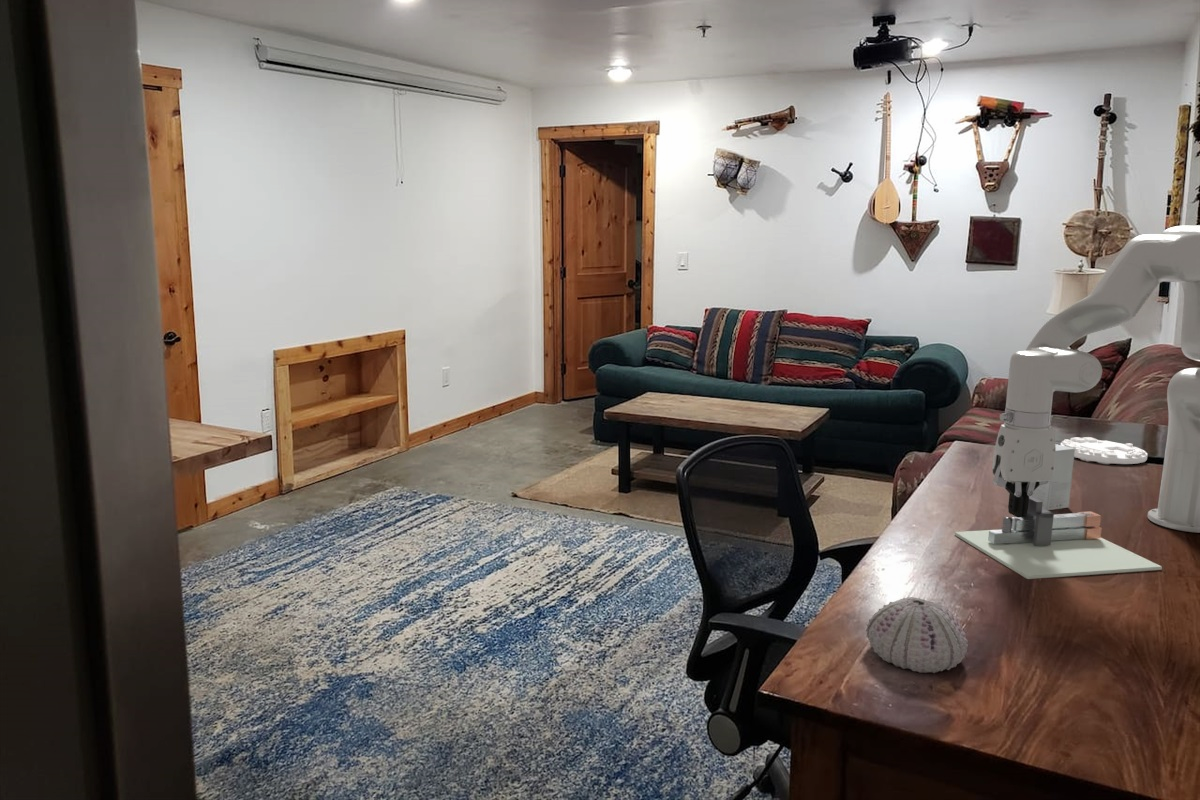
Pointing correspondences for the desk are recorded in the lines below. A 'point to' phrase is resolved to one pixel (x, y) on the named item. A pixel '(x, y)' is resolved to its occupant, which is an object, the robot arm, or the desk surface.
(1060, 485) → the small box
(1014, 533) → the base
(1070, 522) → the jaw
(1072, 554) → the mat
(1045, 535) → the lock collar
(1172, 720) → the desk surface
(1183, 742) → the desk surface
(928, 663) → the sea urchin shell
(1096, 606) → the desk surface
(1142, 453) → the embossed medallion
